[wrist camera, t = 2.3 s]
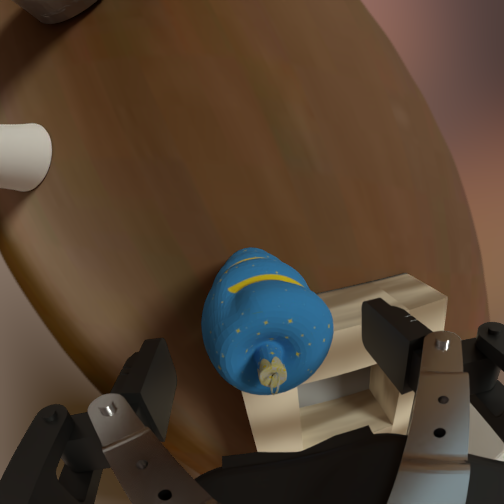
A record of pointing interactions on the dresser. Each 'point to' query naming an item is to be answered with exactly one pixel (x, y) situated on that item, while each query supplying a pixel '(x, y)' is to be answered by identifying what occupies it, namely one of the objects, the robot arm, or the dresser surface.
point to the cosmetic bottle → (23, 156)
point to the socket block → (345, 374)
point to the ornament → (264, 324)
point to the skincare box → (483, 438)
